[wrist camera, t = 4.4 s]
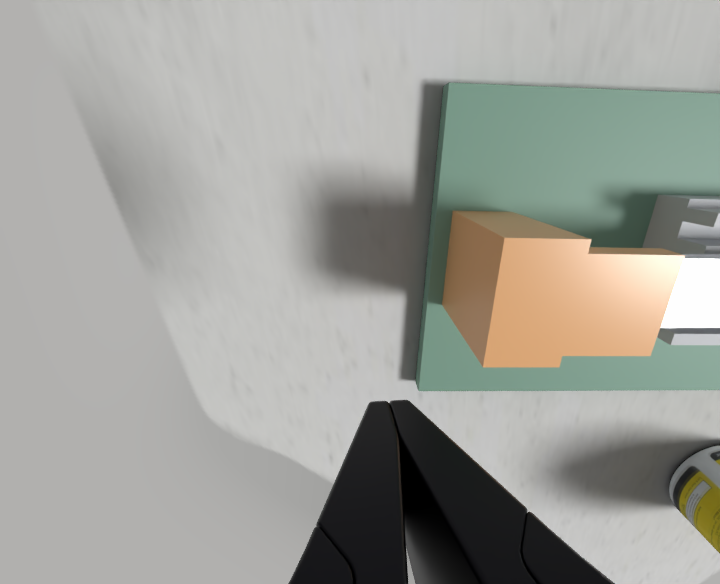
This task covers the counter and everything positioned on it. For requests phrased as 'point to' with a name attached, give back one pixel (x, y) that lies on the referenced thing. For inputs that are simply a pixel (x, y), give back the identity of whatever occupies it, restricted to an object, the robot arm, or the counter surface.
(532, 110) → the heatsink board
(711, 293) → the flat grey bar
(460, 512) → the robot arm
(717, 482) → the pill bottle
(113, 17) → the counter surface
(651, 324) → the orange stepped block
